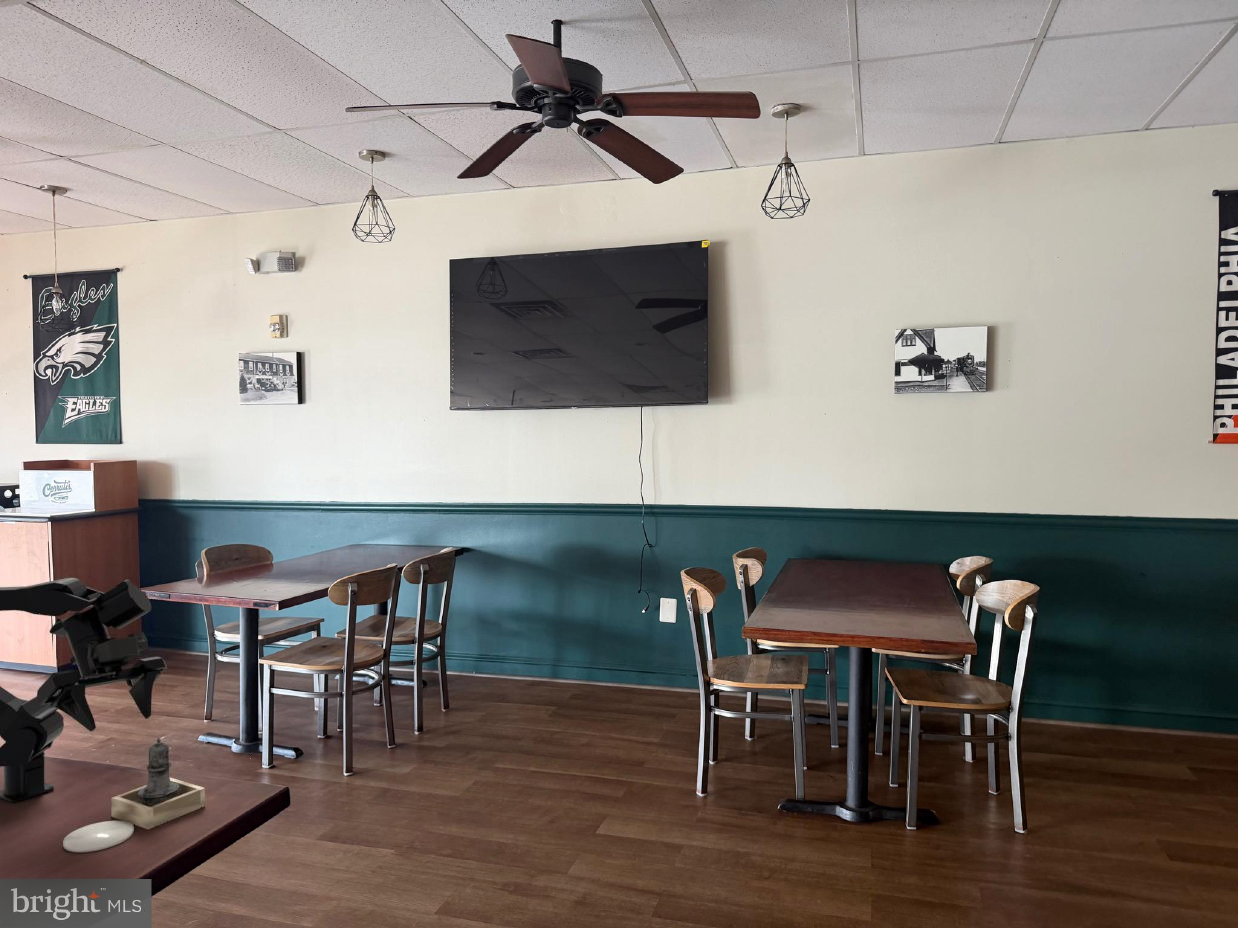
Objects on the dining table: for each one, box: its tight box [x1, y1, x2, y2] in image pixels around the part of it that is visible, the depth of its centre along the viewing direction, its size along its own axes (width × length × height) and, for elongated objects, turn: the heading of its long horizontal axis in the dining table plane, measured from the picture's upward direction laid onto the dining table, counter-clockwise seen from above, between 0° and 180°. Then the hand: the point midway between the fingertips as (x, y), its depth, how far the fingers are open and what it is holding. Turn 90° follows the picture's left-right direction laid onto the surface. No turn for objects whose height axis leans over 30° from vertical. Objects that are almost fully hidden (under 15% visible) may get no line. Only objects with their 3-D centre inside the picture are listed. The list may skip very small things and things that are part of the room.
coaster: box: [62, 820, 135, 853], centre depth 123 cm, size 9×9×1 cm
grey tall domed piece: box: [138, 737, 179, 807], centre depth 133 cm, size 6×6×12 cm
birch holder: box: [110, 777, 206, 830], centre depth 133 cm, size 10×10×3 cm
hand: (121, 723), depth 135 cm, fingers open, 9 cm apart
